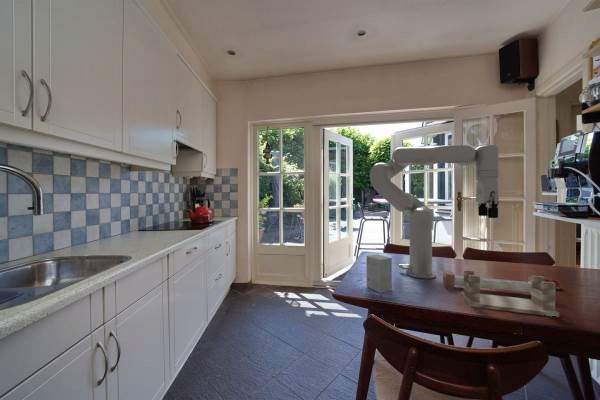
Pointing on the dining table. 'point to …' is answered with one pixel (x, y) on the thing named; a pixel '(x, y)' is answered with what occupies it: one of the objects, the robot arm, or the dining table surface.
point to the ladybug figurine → (554, 282)
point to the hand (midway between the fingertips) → (487, 216)
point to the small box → (379, 273)
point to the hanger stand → (538, 304)
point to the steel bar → (487, 283)
